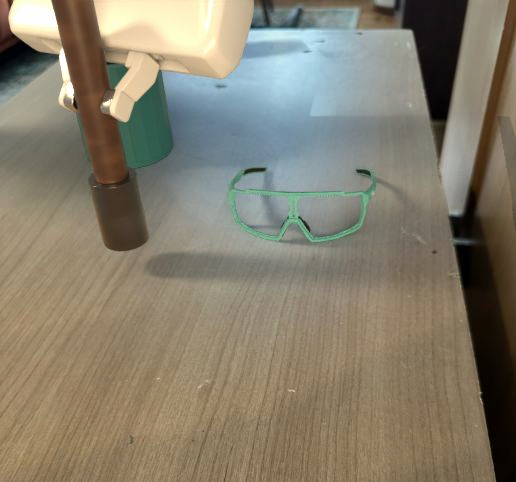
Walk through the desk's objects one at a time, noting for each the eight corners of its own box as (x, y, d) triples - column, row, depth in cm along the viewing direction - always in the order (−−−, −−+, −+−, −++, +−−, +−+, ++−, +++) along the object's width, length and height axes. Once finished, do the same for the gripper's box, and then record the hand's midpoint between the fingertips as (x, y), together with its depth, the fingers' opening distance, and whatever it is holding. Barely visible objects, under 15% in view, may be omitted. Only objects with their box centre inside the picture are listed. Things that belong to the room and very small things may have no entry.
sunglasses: (217, 243, 59) (212, 192, 56) (248, 182, 71) (245, 137, 68) (372, 249, 57) (375, 195, 54) (376, 185, 69) (379, 138, 66)
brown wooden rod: (96, 250, 55) (28, -8, 42) (112, 226, 58) (53, -22, 45) (141, 252, 55) (85, -9, 42) (154, 228, 58) (106, -24, 44)
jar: (74, 169, 74) (47, 70, 66) (104, 132, 81) (83, 39, 74) (159, 170, 72) (141, 68, 65) (183, 132, 79) (168, 37, 72)
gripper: (21, -96, 50) (-34, 76, 50) (246, -91, 41) (178, 115, 42) (75, -42, 55) (25, 111, 56) (282, -28, 47) (222, 153, 47)
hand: (92, 113), depth 49 cm, fingers closed on brown wooden rod, 3 cm apart
